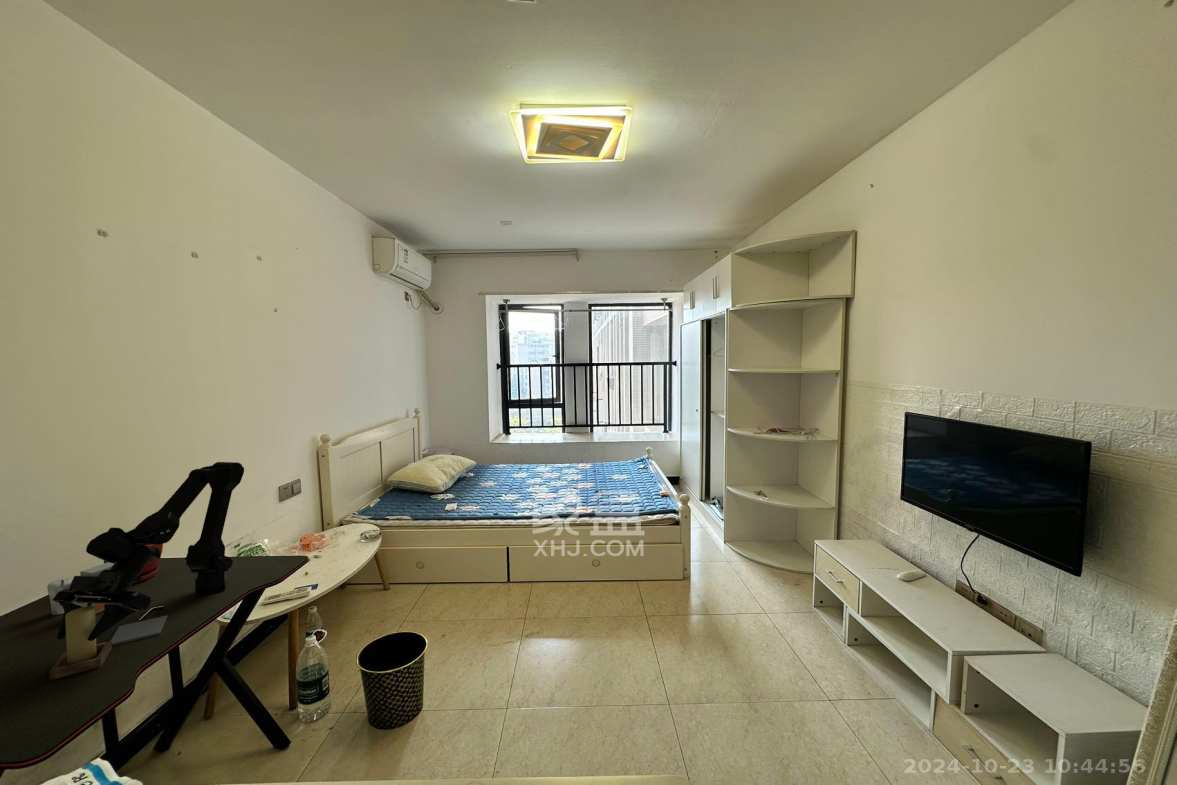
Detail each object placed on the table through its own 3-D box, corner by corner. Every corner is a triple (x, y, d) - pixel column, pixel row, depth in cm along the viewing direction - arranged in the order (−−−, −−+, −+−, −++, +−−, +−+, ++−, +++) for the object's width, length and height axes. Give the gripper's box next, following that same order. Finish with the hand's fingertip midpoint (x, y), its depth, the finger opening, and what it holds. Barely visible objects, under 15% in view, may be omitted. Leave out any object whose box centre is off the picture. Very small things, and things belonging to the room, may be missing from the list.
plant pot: (133, 589, 131) (132, 551, 130) (91, 587, 131) (89, 549, 130) (175, 569, 144) (174, 534, 143) (136, 568, 144) (135, 533, 143)
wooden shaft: (99, 654, 102) (98, 604, 101) (93, 665, 98) (91, 613, 97) (71, 661, 99) (69, 609, 98) (63, 673, 95) (61, 619, 95)
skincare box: (92, 615, 117) (90, 573, 116) (80, 613, 118) (78, 571, 117) (120, 604, 123) (119, 563, 122) (109, 602, 123) (107, 561, 123)
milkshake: (50, 619, 114) (49, 583, 114) (47, 613, 117) (45, 577, 117) (76, 611, 118) (75, 576, 118) (72, 605, 121) (71, 571, 121)
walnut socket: (111, 648, 104) (111, 640, 104) (101, 666, 98) (100, 658, 98) (64, 660, 99) (63, 652, 99) (49, 680, 93) (49, 671, 93)
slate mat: (167, 617, 117) (167, 615, 117) (159, 634, 110) (159, 632, 110) (119, 628, 112) (119, 626, 112) (108, 646, 104) (108, 644, 104)
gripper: (60, 556, 101) (-3, 629, 91) (137, 559, 101) (82, 632, 91) (100, 572, 110) (46, 641, 99) (171, 575, 109) (124, 644, 99)
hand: (74, 639), depth 97 cm, fingers open, 7 cm apart
